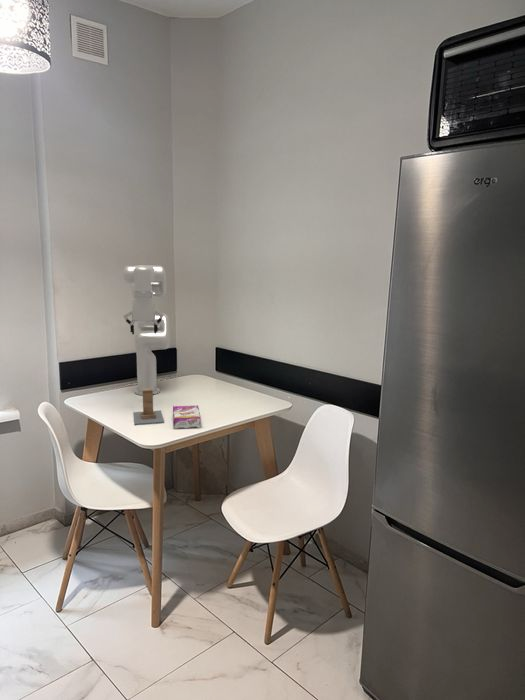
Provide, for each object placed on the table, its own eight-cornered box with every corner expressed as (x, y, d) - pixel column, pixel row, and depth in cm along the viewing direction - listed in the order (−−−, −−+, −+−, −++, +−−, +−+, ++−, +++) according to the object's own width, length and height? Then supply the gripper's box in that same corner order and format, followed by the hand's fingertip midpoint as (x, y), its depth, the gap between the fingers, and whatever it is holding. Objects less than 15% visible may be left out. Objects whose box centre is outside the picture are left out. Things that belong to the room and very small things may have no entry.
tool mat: (133, 413, 225) (133, 412, 225) (160, 411, 228) (160, 410, 228) (134, 425, 210) (134, 423, 210) (164, 423, 213) (164, 421, 213)
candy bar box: (198, 404, 223) (201, 416, 207) (198, 415, 224) (201, 428, 208) (172, 405, 221) (173, 417, 205) (172, 416, 222) (173, 429, 206)
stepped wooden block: (140, 415, 221) (140, 388, 219) (154, 414, 223) (154, 387, 220) (141, 419, 215) (140, 392, 213) (155, 418, 217) (155, 391, 215)
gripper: (162, 294, 230) (163, 331, 234) (122, 294, 226) (124, 332, 229) (163, 295, 223) (164, 334, 227) (122, 296, 219) (124, 335, 222)
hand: (144, 333), depth 228 cm, fingers open, 9 cm apart
